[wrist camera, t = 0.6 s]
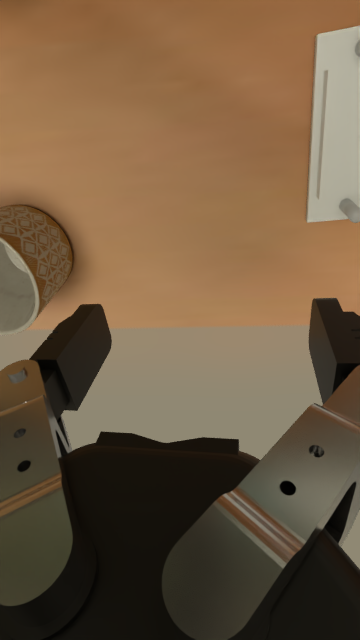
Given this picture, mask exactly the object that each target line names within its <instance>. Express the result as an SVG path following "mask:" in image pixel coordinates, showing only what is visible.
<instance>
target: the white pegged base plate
mask: <svg viewBox="0 0 360 640" xmlns="http://www.w3.org/2000/svg"><path fill="white" fill-rule="evenodd" d="M342 219H350V220H351V221H352V222H354V223H357V222H360V26H356V27H351V28H346V29H341V30H336V31H331V32H326V33H321V34H317V35H316V36H315V54H314V73H313V92H312V111H311V131H310V150H309V169H308V188H307V207H306V221H307V223H308V222H319V221H331V220H342Z"/></svg>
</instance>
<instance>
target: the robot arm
mask: <svg viewBox="0 0 360 640" xmlns="http://www.w3.org/2000/svg"><path fill="white" fill-rule="evenodd" d="M111 342H112V340H111V334H110V331H109V327H108V324H107V320H106V317H105V313H104V310H103V307H102V306H101V305H100V304H82V305H80V306H79V307H78V309H77V310H76V311H75V312H74V314H73V315H72V316H71V317H68V318H67V319H65V320H64V321H62V322H61V323H59V324H58V326H57V327H56V328H55V329H54V330H53V333H51V334H50V335H49V336H48V338H47V340H45V341H44V342H43V343H42V345H41V346H40V347H39V348H38V349H37V351H36V352H35V353H34V354H33V355H32V357H31V358H30V359H29V360H21V361H18V362H15V363H12V364H11V365H8V366H7V367H5V368H4V369H2V370H1V371H0V640H360V569H359V568H358V567H357V566H356V565H355V564H354V562H353V561H352V560H351V559H350V557H349V556H348V555H347V554H346V553H345V552H344V551H343V549H342V548H341V546H342V544H343V543H344V541H345V539H346V537H347V536H348V534H349V532H350V530H351V528H352V526H353V523H354V521H355V519H356V517H357V514H358V512H359V510H360V316H358V315H357V314H356V313H354V312H343V311H342V309H341V306H340V304H339V302H338V300H337V298H316V299H313V301H312V309H311V319H310V330H309V350H310V355H311V358H312V363H313V367H314V370H315V374H316V378H317V382H318V386H319V390H320V394H321V398H322V402H323V406H320V405H318V404H315V403H314V404H312V405H310V406H309V407H308V408H307V409H306V410H305V412H304V413H303V414H302V415H301V416H300V417H299V418H298V419H297V421H295V423H294V424H293V425H292V426H291V427H290V428H289V429H288V430H287V432H286V433H285V434H284V435H283V436H282V437H281V438H280V439H279V440H278V442H277V443H276V444H275V445H274V446H273V447H272V448H271V449H270V451H269V452H268V453H267V454H266V455H265V456H264V457H263V458H262V459H261V460H259V459H257V458H256V457H254V456H251V455H249V454H247V453H244V452H241V451H239V440H238V439H221V438H205V437H203V438H197V439H190V440H184V441H177V442H171V443H162V442H158V441H155V440H152V439H149V438H145V437H142V436H139V435H136V434H132V433H115V432H101V433H100V435H99V438H98V439H97V442H96V443H93V444H89V445H85V446H83V447H80V448H78V449H75V450H73V451H72V448H71V444H70V441H69V438H68V434H67V431H66V427H65V424H64V421H63V419H62V416H61V414H62V413H63V411H64V410H75V411H77V410H78V408H79V407H80V405H81V403H82V401H83V399H84V397H85V396H86V394H87V392H88V390H89V388H90V386H91V385H92V382H93V381H94V379H95V377H96V375H97V374H98V372H99V370H100V368H101V366H102V364H103V363H104V361H105V359H106V357H107V355H108V353H109V351H110V349H111Z"/></svg>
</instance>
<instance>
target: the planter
mask: <svg viewBox="0 0 360 640" xmlns="http://www.w3.org/2000/svg"><path fill="white" fill-rule="evenodd" d="M71 269H72V251H71V247H70V244H69V241H68V239H67V237H66V235H65V234H64V232H63V231H62V229H61V228H60V227H59V226H58V225H57V223H56V222H55V221H53V220H52V219H51V218H50V217H49V216H47V215H46V214H44V213H43V212H41V211H39V210H37V209H34V208H31V207H28V206H23V205H11V206H6V207H2V208H0V335H13V334H16V333H20V332H22V331H24V330H25V329H27V328H28V327H29V326H30V325H31V324H32V323H33V322H34V321H35V319H36V318H37V317H38V315H39V314H40V313H41V312H42V310H43V309H44V308H45V306H46V305H47V304H48V303H49V301H50V300H51V299H52V298H53V296H54V295H55V294H56V292H57V291H58V290H59V289H60V287H61V286H62V285H63V283H64V282H65V281H66V280H67V278H68V276H69V274H70V272H71Z"/></svg>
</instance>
